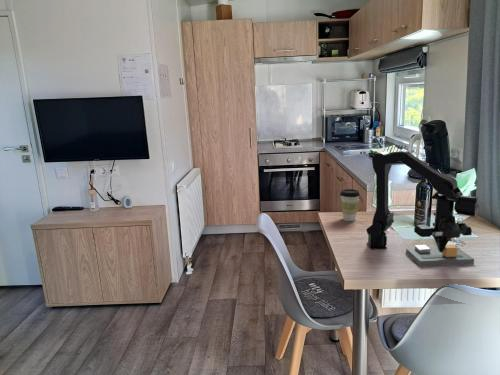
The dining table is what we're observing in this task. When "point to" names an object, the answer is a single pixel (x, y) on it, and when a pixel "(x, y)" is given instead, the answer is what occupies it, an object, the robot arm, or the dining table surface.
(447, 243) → the cream button
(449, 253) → the block slider
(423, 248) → the grey button
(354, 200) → the coffee cup
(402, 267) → the dining table surface
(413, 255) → the panel
